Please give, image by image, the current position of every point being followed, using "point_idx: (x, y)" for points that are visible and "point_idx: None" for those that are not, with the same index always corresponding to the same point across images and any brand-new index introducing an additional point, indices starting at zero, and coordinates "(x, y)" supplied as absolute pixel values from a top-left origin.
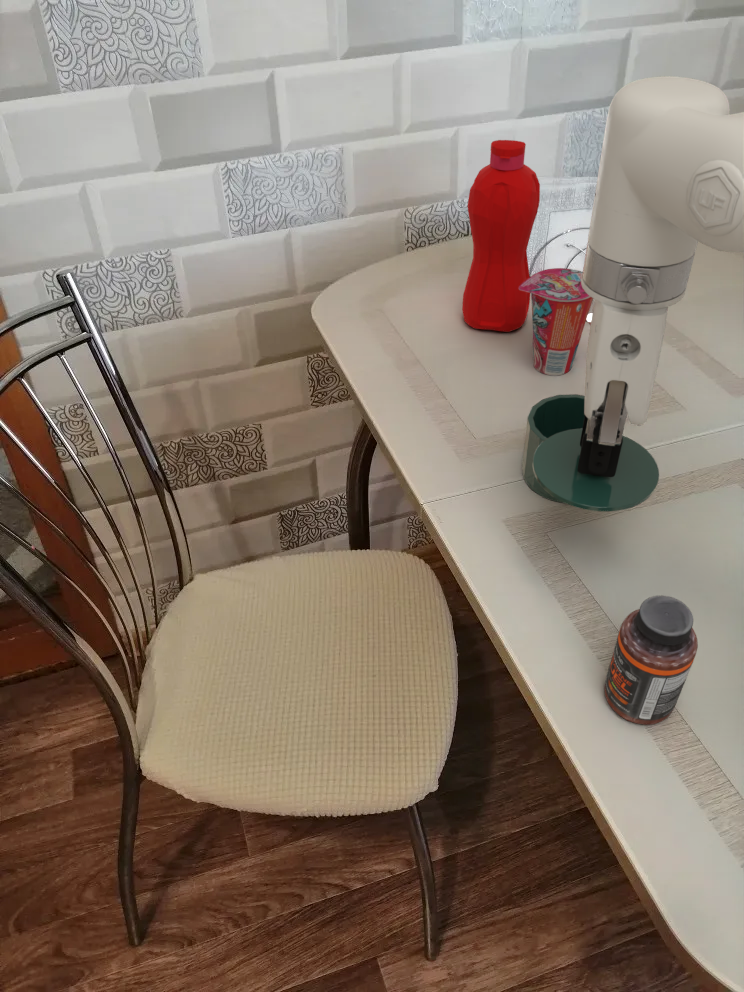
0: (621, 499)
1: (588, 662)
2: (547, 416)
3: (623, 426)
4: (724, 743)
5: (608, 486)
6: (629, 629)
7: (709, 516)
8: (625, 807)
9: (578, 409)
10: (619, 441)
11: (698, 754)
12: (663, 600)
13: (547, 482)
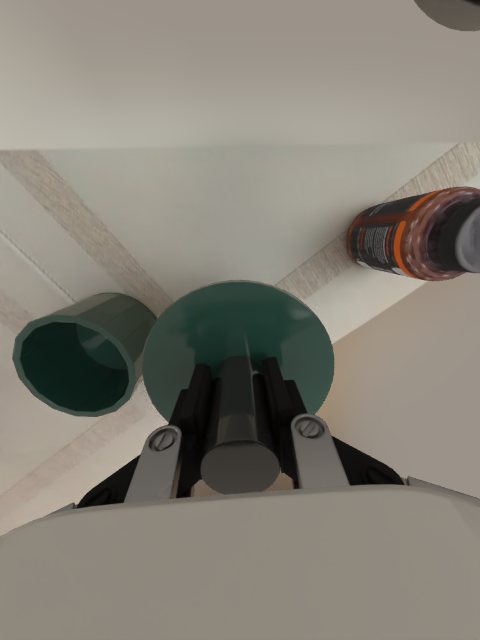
0: (310, 333)
1: (343, 282)
2: (69, 387)
3: (344, 473)
4: (414, 154)
5: (283, 353)
6: (453, 274)
7: (114, 181)
8: None
9: (39, 362)
10: (327, 430)
11: (426, 179)
12: (470, 243)
13: None
